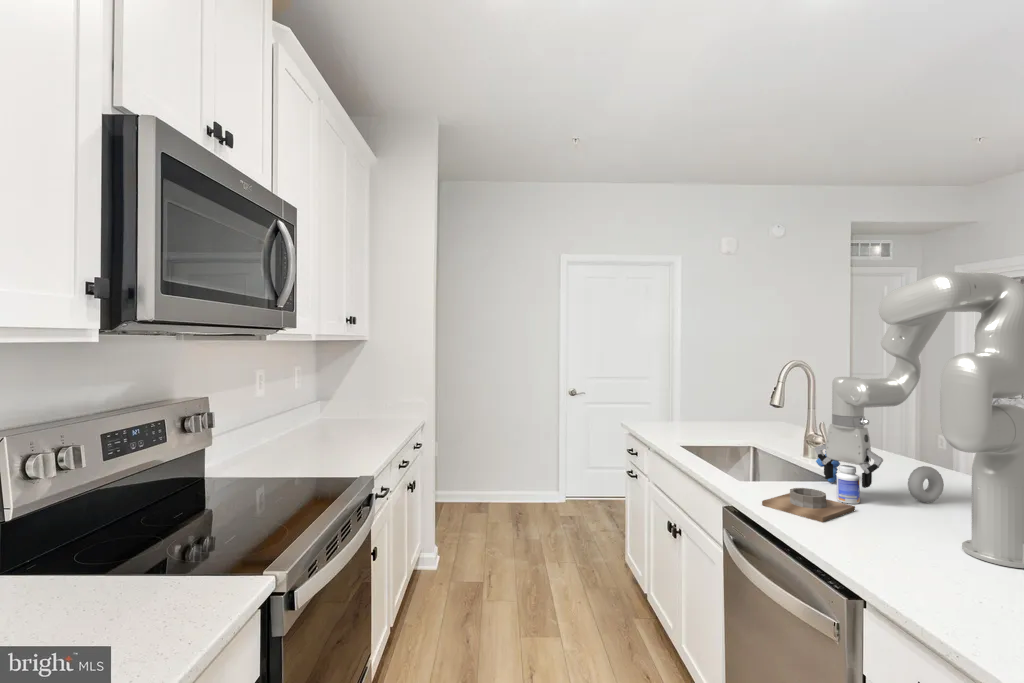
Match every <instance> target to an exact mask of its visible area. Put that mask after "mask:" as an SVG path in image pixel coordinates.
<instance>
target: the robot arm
mask: <svg viewBox="0 0 1024 683" xmlns="http://www.w3.org/2000/svg"><path fill="white" fill-rule="evenodd" d="M949 312H951V313H955V312H956V313H957V312H958V313H968V312H969V313H980V314H982V315H981V316H980V318H979V320H978V322H977V324H976V325H975V326H976V327H975V329H974V330H975V331H974V337H973V338H974V350H973V352H965V353H960V354H956V355H955V356H953V357H951V358H950V359H949V360H948V361H946V363H945V364H944V366H943V368H942V370H941V372H940V378H939V403H940V404H939V412H940V413H939V414H940V416H939V417H940V419H939V420H940V429H941V434H942V436H943V438H944V440H945V441H946V442H947V443H948V444H949V445H950V446H951V447H952V448H953V449H956V450H957V451H960V452H963V453H969V454H971V453H972V454H973V453H975V455H974V458H973V461H972V466H971V539H967V540H964V541H963V542H962V543H961V549H962V551H964V552H965V553H966V554H968V555H969V556H971V557H973V558H976V559H978V560H982V561H984V562H987V563H990V564H995V565H999V566H1004V567H1009V568H1015V569H1024V407H1021V406H1018V405H1014V404H1007V403H1006V404H1005V403H1003V404H1002V403H995V404H993V399H1007V398H1008V399H1009V398H1013V397H1018V396H1021V395H1023V394H1024V284H1023V283H1021V282H1020V281H1018V280H1016V279H1015V278H1012V277H1010V276H1006V275H1003V274H999V273H990V272H989V273H988V272H972V271H971V272H959V271H958V272H957V271H953V272H952V271H948V272H947V271H946V272H938V273H935V274H931V275H929V276H926V277H924V278H920V279H919V280H916V281H914V282H911V283H908V284H906V285H902V286H901V287H898V288H895V289H894V290H892V291H889V292H888V293H886V295H885V296H884V297H883V298H882V300H881V301H880V303H879V308H878V315H879V317H880V319H881V320H882V321H883V322H884V323H885V324H888V325H889V327H888V328H887V330H886V331H885V333H884V335H883V336H882V338H881V340H880V345H881V348H882V349H883V350H884V351H885V352H886V353H888V354H890V355H891V356H892V357H895V363H894V366H893V368H892V370H891V372H890V373H889V374H888V375H887V377H886V378H885V377H883V378H882V377H881V378H860V377H857V376H837V377H835V378H833V380H832V384H831V385H832V387H831V389H832V390H831V392H832V393H831V396H832V397H831V398H832V399H831V423H830V424H829V426H828V430H827V435H826V442H825V444H821V445H818V446H815V447H814V451H815V453H816V455H817V459H818V458H819V459H820V460H821V461H822V464H823V465H824V467H823V475H824V479H825V480H827V479H830V478H833V464H831V462H832V461H834V460H836V461H839V463H841V462H842V463H846V464H851V465H858V466H860V468H861V470H862V471H863V472H862V473H861V487H862V488H864V489H867V488H869V487H871V486H872V484H873V483H872V482H873V477H872V476H873V473H874V472H875V471H876V470H878V469H879V468H880V466H881V465H882V463H883V462H884V458H882V457H881V456H879V455H878V454H877V453H874V452H873V451H872V448H871V440H870V439H871V438H870V433H869V430H868V428H867V427H865V426H868V425H870V419H866V416H865V408H866V409H867V408H868V409H869V408H883V407H888V408H889V407H896V406H899V405H901V404H903V403H904V402H905V401H906V400H908V398H909V397H910V396H911V394H912V393H913V391H914V390H915V389H916V387H917V385H918V383H919V382H920V379H921V374H922V373H921V370H922V367H921V360H920V355H921V353H922V352H923V350H924V349H925V347H926V345H927V344H928V342H929V341H930V339H931V338H932V336H933V335H934V334H935V331H936V330H937V329H938V327H939V325H940V324H941V322H942V321H943V320H944V318H945V316H946V315H947V313H949ZM824 450H825V451H826V452H825V453H824V452H823V451H824ZM825 454H826V456H827V457H826V456H825ZM872 460H873V464H870V462H871V461H872Z"/></svg>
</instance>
